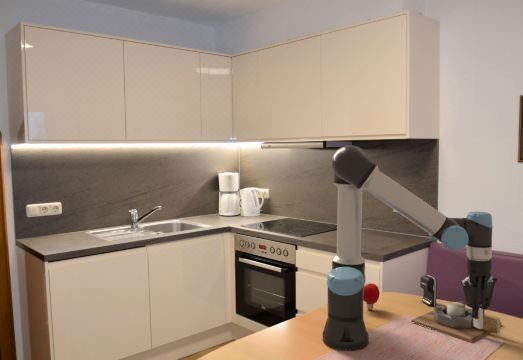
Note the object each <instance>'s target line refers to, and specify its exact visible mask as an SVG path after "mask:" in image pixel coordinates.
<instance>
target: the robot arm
mask: <svg viewBox="0 0 523 360" xmlns="http://www.w3.org/2000/svg"><path fill="white" fill-rule="evenodd" d="M331 168H332V171H333V185H334V186H335V187H336V188H337V220H336V226H337V227H336V254H335V256H333V257H332V259H331V261H332V262H331V270H329V272H328V274H327V278H326V286H327V318H326V321H325V325H324V328H323V331H322V342H323V343H324V345H326V346H327V347H330V348H332V349H335V350H341V351H356V350H357V351H358V350H361V349H364V348H366V347H367V346H369V343H370V337H369V336H370V335H369V333H368V331H367V328H366V324H365V319H364V301H363V293H364V286H365V284H366V260H365V258H364V257H363V256H362V229H363V227H362V226H363V224H362V221H363V191H364V190H365V192H368V193H370V194H371V195H372V196H373V197H375V198H377V199H378V200H379V201H381V202H382V203H383V204H385V205H387V206H388V207H389V208H391V209H392V210H394V211H396V213H399V214H400V215H401V216H403V217H404V218H406V219H407V220H408V221H410V222H411V223H413V224H414V225H415V226H417V227H419V228H420V229H422V230H423V231H424V232H425V233H427V234H429V238H430V239H431V240H437V241H439V243H441V244H443V247H445V248H446V249H448V250H450V251H454V252H456V251H461V250H463V249H465V248H466V257H467V258H466V269H467V274H466V277H465V278H464V279H461V280H460V284H461V285H462V289H463V292H464V299H465V305H466V306H467V308H469V309H472V317H473V326H474V327H476V328H478V329H483V318H484V314H486V313H485V310H488V307H490V306H491V302H492V298H493V293H494V288H495V285H496V283H497V281H498V278H496V277H494V276H493V275H492V273H491V271H492V269H493V268H492V266H493V265H492V264H493V263H492V262H493V261H492V258H493V255H492V254H493V253H492V252H493V243H492V242H493V228H494V227H493V216H492V214H491V213H489V212H486V211H468V212H467V215H466V217H462V218H461V217H448V216H446V215H444V214H443V213H442V212H441V211H439V210H437V209H436V208H435V207H434V206H432V205H430V204H429V203H427V202H425V201H424V200H423V199H421V198H420V197H418V195H416V194H414V193H413V192H412V191H410V190H408V189H406V188H405V187H404V186H402V185H401V184H399V183H398V182H397V181H395V180H393V179H392V178H391V177H389V176H388V175H387V174H385V173H384V172H382V171H380V170H379V165H377V163H375V162H373V161H372V160H371V159H370V158H369V156H368V155H367V153H366V151H365V150H364V149H363V148H361V147H359V146H357V145H345V146H342V147H339V148H338V149H337V150H336V151H335V152H334V153H333V156H332V158H331Z"/></svg>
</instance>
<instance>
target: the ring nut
mask: <svg viewBox="0 0 523 360" xmlns="http://www.w3.org/2000/svg"><path fill="white" fill-rule="evenodd" d="M433 310H434V318H435V320H436V321H437V322H438V323H440V324H443V325H446V326H449V327H452V328H472V327H474V326H473V317H472V308H470V307H465V317H457V314H456V313H452V314H451V316H450V315H447V304H446V305H445V304H444V305H443V304H442V305H437V304H436V306H435V308H433ZM500 322H501V317H499V316H498V317H497V316H494V315H491V314H488V313H485V314H484V318H483V329H482V330H485V331H489V332H488V333H493V334H496V335H498V334H500V333H501V326H500Z"/></svg>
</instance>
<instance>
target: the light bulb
mask: <svg viewBox="0 0 523 360" xmlns="http://www.w3.org/2000/svg"><path fill="white" fill-rule="evenodd" d="M379 298H380V289H379V287H378V286H377V285H376V284H375V283H367V284H366V285H364V293H363V302H365V304H366V305H365V306H366V309H367V310H369V311H372V310H373V309H374V304H376V303H377V302H378V301H379Z"/></svg>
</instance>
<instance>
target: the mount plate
mask: <svg viewBox="0 0 523 360" xmlns="http://www.w3.org/2000/svg"><path fill="white" fill-rule="evenodd" d="M446 305H447V315H450V316H451V314H452V313H456V314H457V317H465V308H466V301H463V300H459V301H456V302H455V301H450V302H447V304H446ZM411 322H414V323H417V324H420V325H423V326H426V327H429V328H431V329H430V330H432V329H434V330H433V331H435V330H437V331H436V332H438V331H439V333H441V332H442V333H441V334H444V333H445V335H447V334H448V335H447V336H450V335H451V336H450V337H453V336H454V337H453V338H456V339H459V340H462V341H466V342H468V343H472V342H474V341H476V340H477V339H479V338H480V337H482V336H484V335H486V334H488V333H490V332H489V331H485V330H482V329H478V328H476V327H472V328H452V327H449V326H446V325H443V324H440V323H438V322H437V321H436V320H435V318H434V309H433V310H431V311H428V312H426V313H424V314H422V315H420V316H417V317H415V318H412V319H411V321H410V323H411ZM414 323H413V324H414ZM417 324H416V325H417ZM420 325H419V326H420ZM423 326H422V327H423ZM501 326H502V322H501V321H500V327H501ZM426 327H425V328H426ZM429 328H428V329H429ZM473 340H474V341H473ZM471 341H472V342H471Z"/></svg>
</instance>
